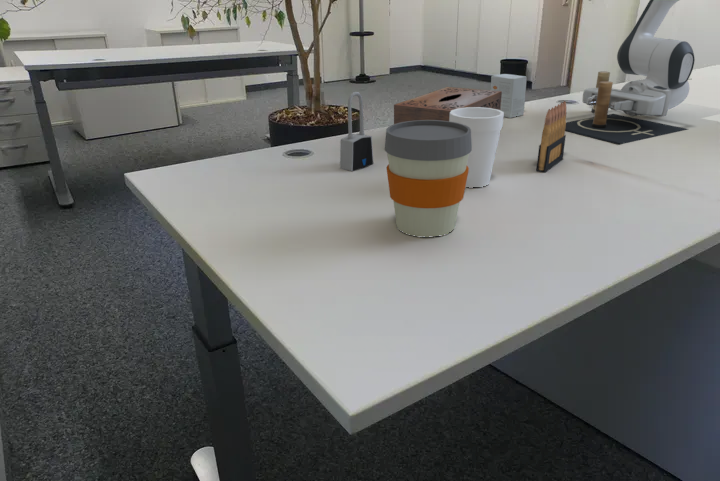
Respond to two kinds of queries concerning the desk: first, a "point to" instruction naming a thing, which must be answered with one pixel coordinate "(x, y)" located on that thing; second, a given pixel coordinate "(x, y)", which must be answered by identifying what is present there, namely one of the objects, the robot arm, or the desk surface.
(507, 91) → the small box
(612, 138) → the desk pad
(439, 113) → the tissue box cover
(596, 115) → the beech stamp
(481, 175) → the foam cup
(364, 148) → the padlock
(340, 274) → the desk surface
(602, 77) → the birch stamp
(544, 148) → the ammunition clip
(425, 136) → the reusable coffee cup
